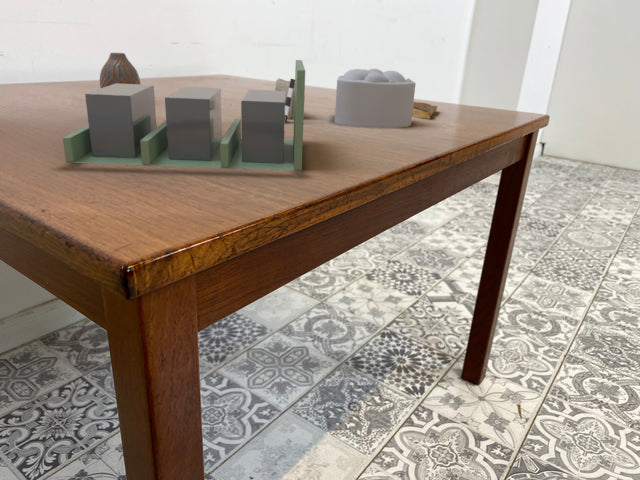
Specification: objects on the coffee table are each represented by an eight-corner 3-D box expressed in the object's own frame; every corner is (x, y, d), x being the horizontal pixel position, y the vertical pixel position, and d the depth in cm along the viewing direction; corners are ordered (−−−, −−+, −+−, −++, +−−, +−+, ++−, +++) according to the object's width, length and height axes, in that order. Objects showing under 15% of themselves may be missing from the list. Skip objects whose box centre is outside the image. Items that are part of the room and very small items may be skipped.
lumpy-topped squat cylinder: (336, 116, 94) (339, 65, 91) (408, 120, 94) (413, 70, 91) (333, 126, 85) (336, 70, 82) (413, 131, 84) (420, 75, 81)
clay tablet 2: (241, 162, 56) (241, 100, 54) (248, 142, 66) (248, 89, 63) (283, 163, 57) (284, 102, 54) (284, 144, 66) (285, 91, 63)
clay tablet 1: (168, 159, 56) (164, 97, 53) (185, 140, 65) (183, 86, 63) (210, 160, 56) (209, 99, 54) (222, 141, 65) (220, 88, 63)
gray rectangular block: (92, 156, 55) (84, 93, 53) (120, 137, 64) (115, 83, 62) (135, 158, 56) (130, 95, 53) (157, 139, 65) (153, 85, 62)
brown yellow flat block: (429, 120, 95) (430, 110, 94) (388, 116, 97) (389, 106, 96) (438, 113, 104) (439, 104, 103) (400, 109, 106) (401, 100, 106)
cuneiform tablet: (285, 124, 84) (258, 111, 94) (309, 128, 86) (280, 115, 96) (294, 79, 82) (266, 71, 92) (318, 85, 84) (288, 76, 94)
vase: (127, 100, 100) (122, 51, 97) (149, 104, 96) (146, 54, 93) (94, 102, 95) (88, 51, 91) (117, 107, 91) (111, 54, 88)
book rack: (66, 171, 53) (51, 58, 49) (112, 141, 67) (103, 50, 63) (301, 179, 55) (305, 70, 51) (299, 148, 69) (302, 60, 64)
